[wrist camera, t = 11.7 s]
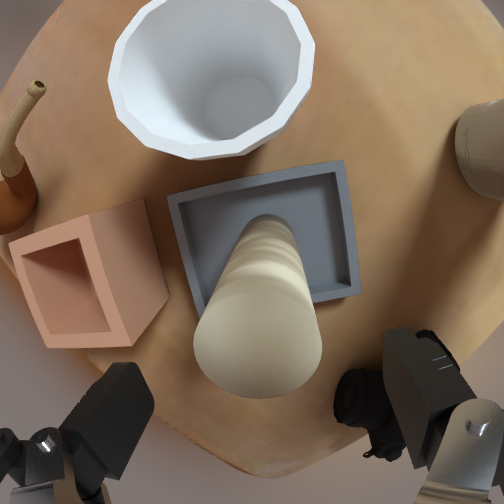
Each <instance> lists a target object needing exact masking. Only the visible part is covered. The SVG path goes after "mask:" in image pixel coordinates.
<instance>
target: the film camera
mask: <svg viewBox="0 0 504 504" xmlns="http://www.w3.org/2000/svg"><path fill="white" fill-rule="evenodd" d="M415 335H416V337H417V338H418V339H421V338H424V337H427V338H429V339H431V340H432V341H434V342H436V343H438V344H439V345H440V346H441V348H442V349H443V350H444V352H445V353H446V354H447V357H449V358H450V360H451V361H452V362H453V366H454V365H455V367H456V368H457V369H458V371H459V372H460V368H459V366H458V364H457V362H456V360H455V359H454V358H453V357H452V354H451V353H450V351H448V349H447V348H446V347H445V345H444V344H443V343H442V342H441V340H439V339H438V337H437V336H436V334H435V333H434V332H433V331H432V330H430V331H429V330H422V331H419V332H417V333H415ZM333 409H334V416H335V417H336V419H337V422H339V423H345V424H346V425H347V426H351V427H363V428H365V429H367V430H368V434H369V438H370V442H371V446H372V449H371V450H370V451H368V452H366V453H368V455H365V454H366V453H364V454H363V457H365V458H369V457H370V456H372V455H375V456H376V457H377V458H385V459H386V460H387V461H389V462H392V461H393V460H396V459H398V458H399V457H400V456H401V455H402V450H403V449H404V448H405V447H406V443H405V440H404V437H403V434H402V432H401V429H400V426H399V423H398V421H397V418H396V415H395V412H394V410H393V407H392V405H391V402H390V399H389V397H388V394H387V392H386V389H385V385H384V380H383V371H372V370H366V369H359V370H357V371H356V370H354V369H351V370H349V371H347V372H346V373H345V374H344V375H343V377H342V379H341V380H340V382H339V384H338V387H337V389H336V393H335V398H334V406H333Z"/></svg>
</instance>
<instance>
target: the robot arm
mask: <svg viewBox="0 0 504 504" xmlns="http://www.w3.org/2000/svg"><path fill="white" fill-rule="evenodd" d="M455 153H456V157H457V162H458V165H459V168H460V171H461V173H462V175H463V177H464V179H465V180H466V182H467V183H468V185H469V186H470V187H471V188H472V189H473V190H474V191H475V192H476V193H478V194H479V195H481V196H483V197H487V198H491V199H496V200H500V201H504V99H501V100H496V101H491V102H487V103H483V104H479V105H475V106H471V107H470V108H468V109H467V110H465V112H464V113H463V114H462V115H461V117H460V119H459V121H458V123H457V128H456V132H455ZM383 380H384V385H385V389H386V392H387V394H388V397H389V399H390V402H391V405H392V407H393V410H394V412H395V415H396V418H397V421H398V423H399V426H400V429H401V432H402V434H403V437H404V440H405V443H406V446H407V448H408V452H409V455H410V458H411V461H412V464H413V467H414V469H417V468H420V467H423V466H427V468H428V471H429V473H428V475H427V477H426V479H425V481H424V484H423V486H422V488H421V489H420V491H419V493H418V494H417V496H416V499H415V500H414V502H413V504H491V500H488V495H489V491H490V488H491V486H497V485H500V487H501V490H502V492H503V495H504V409H502V408H501V407H500V406H499V405H498V404H497V403H495V402H494V401H492V400H488V399H483V398H477V397H476V395H475V394H474V392H473V391H472V389H471V388H470V386H469V385H468V383H467V382H466V381H465V379H464V378H463V376H462V375H461V374H460V372H459V371H458V369H457V368H456V367H455V365H454V366H453V362H452V361H451V360H450V358H449V357H447V354H446V353H445V352H444V350H443V349H442V348H441V346H440V345H439V344H438V343H436V342H434V341H432V340H431V339H429V338H427V337H424V338H421V339H418V338H417V337H416V335H415V334H414V332H413V331H412V330H411V328H410V327H409V326H403V327H399V328H395V329H390V330H386V331H384V333H383ZM153 411H154V399H153V396H152V394H151V392H150V390H149V388H148V386H147V384H146V381H145V379H144V377H143V375H142V373H141V371H140V369H139V367H138V365H137V364H136V363H134V362H115V363H113V364H112V365H111V366H110V367H109V369H108V370H107V371H106V372H105V374H104V375H103V376H102V377H101V378H100V379H99V380H98V381H96V382H95V383H94V384H93V385H92V386H91V387H90V388H89V390H88V391H87V392H86V395H84V396H83V397H82V398H81V400H80V403H78V404H77V405H76V406H75V407H74V409H73V410H72V411H71V413H70V414H69V415H68V416H67V418H66V419H65V421H64V422H63V423H62V424H61V426H60V427H59V428H58V429H57V428H55V427H47V428H43V429H41V430H39V431H37V432H36V433H34V434H33V435H32V437H31V438H30V439H29V440H19V439H18V438H17V437H16V435H15V434H14V433H13V432H12V430H11V429H9V428H2V429H0V483H1V481H2V480H3V478H4V477H5V475H6V474H7V473H8V474H9V476H10V477H11V478H12V479H13V480H14V481H15V482H16V483H17V484H18V485H19V486H20V487H18V488H14V489H12V491H11V494H10V504H111V500H110V497H109V493H108V490H107V487H106V485H105V484H104V483H103V480H104V478H105V477H107V478H111V479H115V480H120V478H121V475H122V474H123V471H124V470H125V467H126V465H127V463H128V461H129V459H130V457H131V455H132V453H133V451H134V449H135V447H136V445H137V443H138V441H139V439H140V437H141V435H142V433H143V431H144V429H145V427H146V425H147V423H148V421H149V419H150V417H151V415H152V413H153Z"/></svg>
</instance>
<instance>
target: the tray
mask: <svg viewBox="0 0 504 504" xmlns="http://www.w3.org/2000/svg"><path fill="white" fill-rule="evenodd" d="M166 197H167V201H168V206H169V210H170V214H171V218H172V222H173V226H174V230H175V234H176V238H177V242H178V245H179V249H180V253H181V257H182V260H183V264H184V268H185V271H186V275H187V278H188V282H189V285H190V289H191V292H192V296H193V299H194V302H195V306H196V309H197V312H198V315H199V319H201V317H202V315H203V313H204V311H205V309H206V307H207V304H208V302H209V300H210V298H211V296H212V294H213V292H214V290H215V288H216V286H217V284H218V281H219V279H220V277H221V275H222V273H223V271H224V269H225V267H226V265H227V263H228V261H229V259H230V257H231V254H232V252H233V250H234V248H235V246H236V244H237V242H238V240H239V238H240V236H241V234H242V232H243V230H244V228H245V226H246V225H247V223H248V222H249V221H250V220H252V219H253V218H255V217H257V216H259V215H263V214H273V215H277V216H279V217H281V218H283V219H284V220H285V221H287V222H288V224H289V225H290V226H291V228H292V230H293V233H294V236H295V240H296V244H297V247H298V251H299V254H300V258H301V262H302V265H303V269H304V273H305V277H306V280H307V284H308V288H309V292H310V296H311V300H312V303H316V302H322V301H327V300H332V299H337V298H342V297H348V296H352V295H357V294H361V285H360V274H359V264H358V254H357V245H356V237H355V229H354V221H353V214H352V207H351V201H350V195H349V188H348V182H347V177H346V171H345V166H344V160H338V161H331V162H325V163H318V164H312V165H306V166H301V167H295V168H289V169H284V170H279V171H273V172H268V173H263V174H258V175H253V176H248V177H244V178H239V179H234V180H230V181H225V182H221V183H216V184H212V185H208V186H203V187H199V188H195V189H191V190H187V191H183V192H179V193H175V194H171V195H168V196H166Z"/></svg>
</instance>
